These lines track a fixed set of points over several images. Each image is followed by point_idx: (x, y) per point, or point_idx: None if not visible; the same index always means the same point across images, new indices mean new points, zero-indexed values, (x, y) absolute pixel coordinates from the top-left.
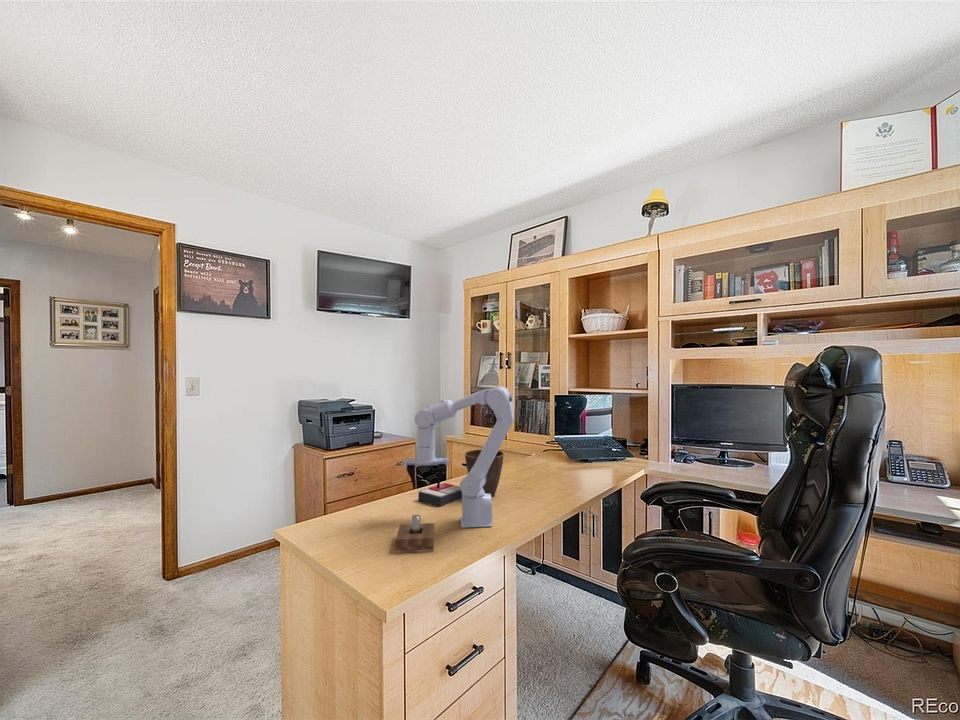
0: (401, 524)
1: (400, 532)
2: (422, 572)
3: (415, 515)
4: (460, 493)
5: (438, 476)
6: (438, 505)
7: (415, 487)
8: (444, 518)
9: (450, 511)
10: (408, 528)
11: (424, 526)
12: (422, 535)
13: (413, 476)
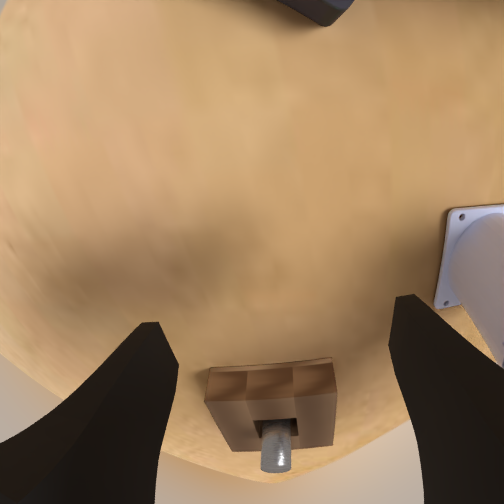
0: (209, 401)
1: (230, 432)
2: (310, 454)
3: (272, 465)
4: None
5: (429, 459)
6: (316, 19)
7: (169, 355)
8: (373, 206)
9: (401, 104)
10: (247, 420)
11: (301, 411)
12: (301, 440)
13: (146, 484)
